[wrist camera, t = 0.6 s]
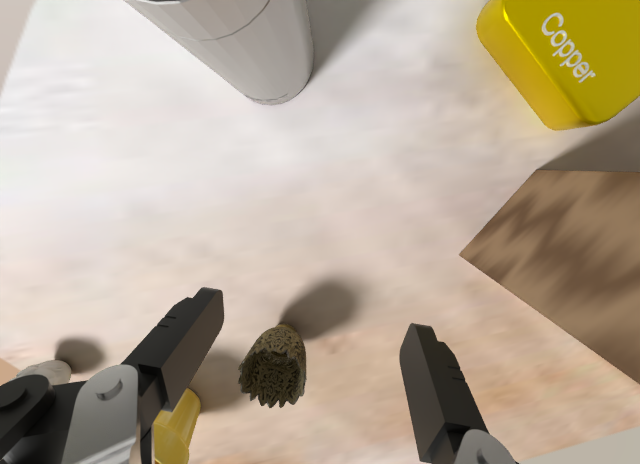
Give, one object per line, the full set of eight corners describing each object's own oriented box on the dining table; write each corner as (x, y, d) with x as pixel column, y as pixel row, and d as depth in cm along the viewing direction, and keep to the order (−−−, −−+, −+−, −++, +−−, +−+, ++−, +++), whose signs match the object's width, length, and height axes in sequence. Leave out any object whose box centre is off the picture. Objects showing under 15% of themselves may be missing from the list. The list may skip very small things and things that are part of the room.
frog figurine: (87, 388, 38) (35, 435, 32) (43, 374, 38) (-19, 419, 32) (90, 358, 37) (36, 401, 30) (44, 343, 37) (-21, 384, 30)
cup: (262, 303, 33) (240, 346, 25) (316, 314, 33) (311, 360, 25) (255, 349, 35) (233, 402, 27) (307, 359, 35) (299, 415, 27)
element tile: (464, 26, 24) (495, -7, 19) (612, -128, 21) (692, -211, 16) (552, 140, 26) (599, 134, 22) (698, 17, 23) (790, -20, 18)
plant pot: (204, 435, 40) (163, 519, 30) (142, 414, 39) (82, 492, 30) (221, 389, 37) (183, 465, 28) (155, 365, 37) (93, 434, 27)
